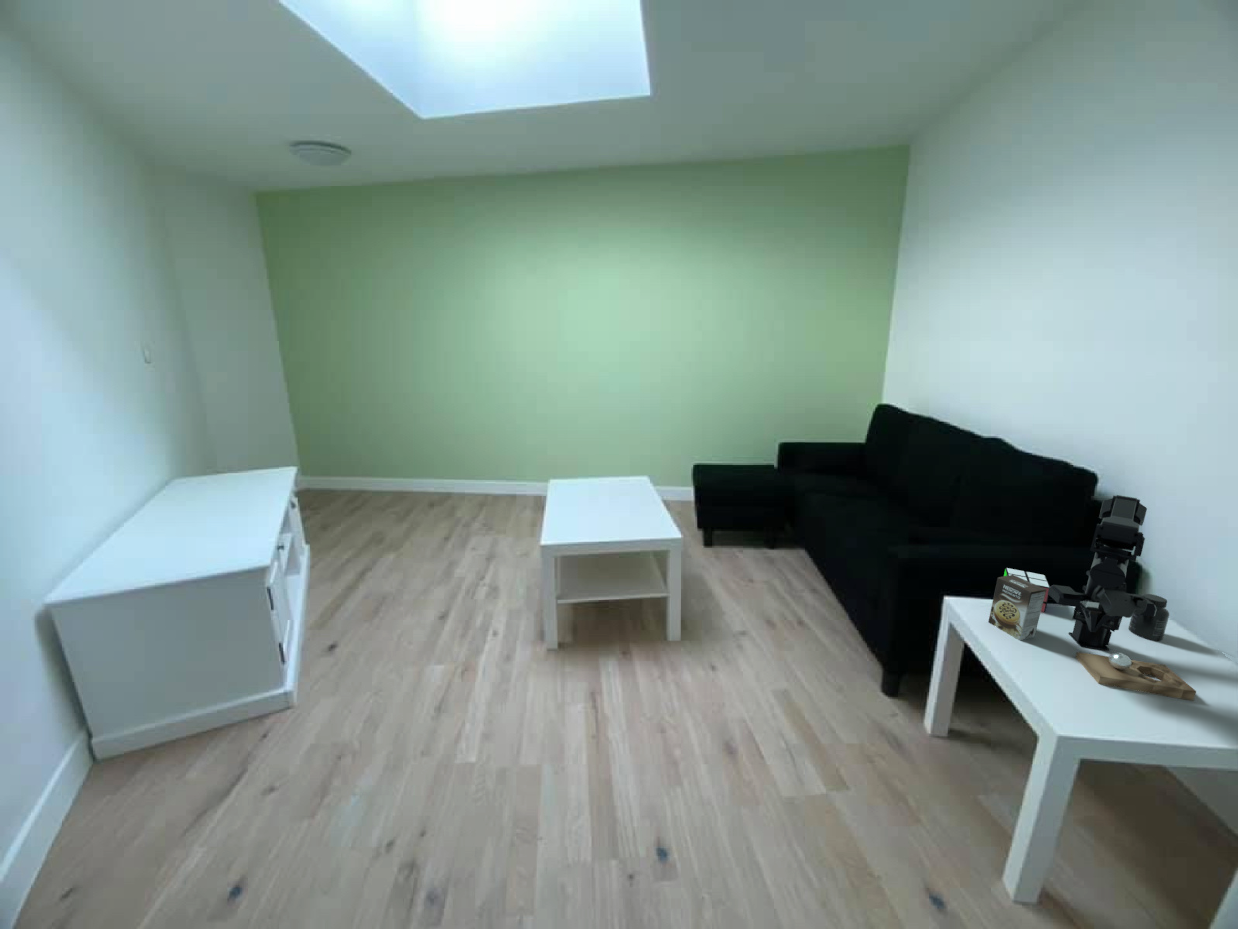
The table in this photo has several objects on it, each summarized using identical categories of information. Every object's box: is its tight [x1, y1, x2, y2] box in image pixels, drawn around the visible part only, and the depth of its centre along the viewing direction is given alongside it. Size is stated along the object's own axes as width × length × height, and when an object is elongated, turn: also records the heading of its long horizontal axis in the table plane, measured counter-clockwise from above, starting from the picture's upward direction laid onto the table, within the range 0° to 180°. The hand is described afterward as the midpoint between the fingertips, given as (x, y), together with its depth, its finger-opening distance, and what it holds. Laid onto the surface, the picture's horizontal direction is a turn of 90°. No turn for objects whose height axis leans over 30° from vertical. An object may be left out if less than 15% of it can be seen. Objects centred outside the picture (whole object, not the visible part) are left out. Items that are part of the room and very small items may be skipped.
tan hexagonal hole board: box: [1075, 651, 1197, 701], centre depth 122 cm, size 18×10×2 cm, turn 73°
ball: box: [1108, 652, 1132, 670], centre depth 122 cm, size 4×4×4 cm
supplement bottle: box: [1128, 593, 1170, 642], centre depth 139 cm, size 7×7×12 cm
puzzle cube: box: [1003, 567, 1051, 614], centre depth 154 cm, size 10×10×10 cm
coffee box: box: [988, 575, 1046, 641], centre depth 139 cm, size 9×6×16 cm
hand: (1091, 631), depth 122 cm, fingers closed
